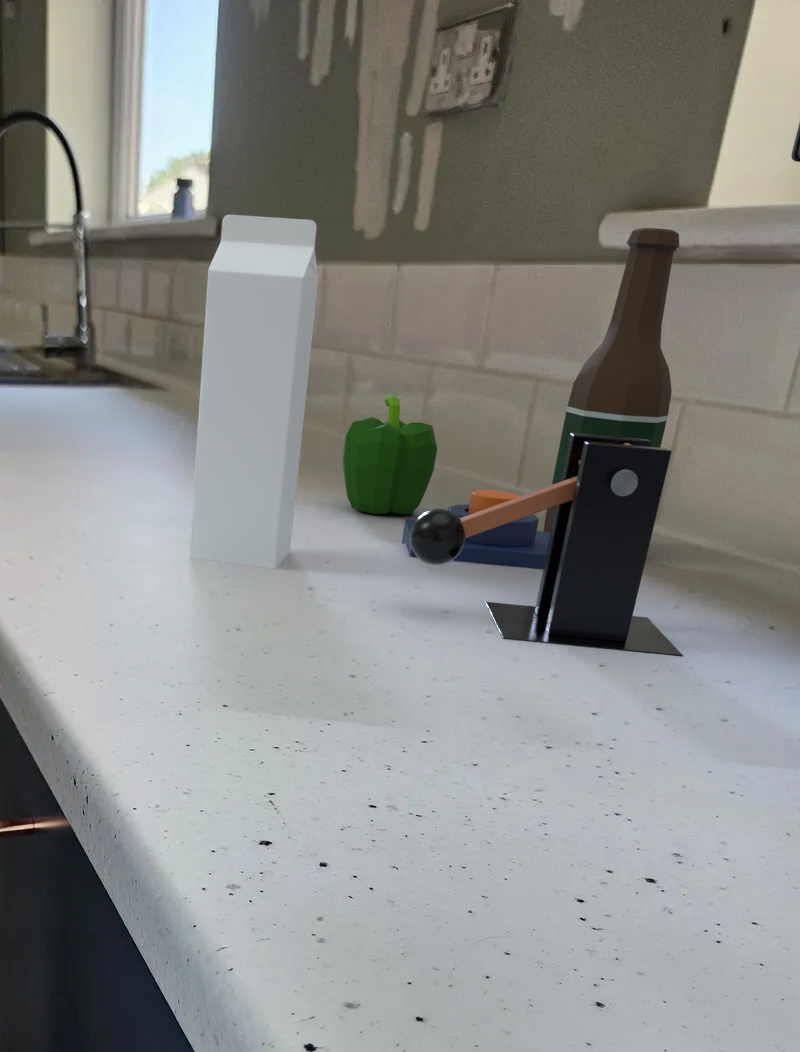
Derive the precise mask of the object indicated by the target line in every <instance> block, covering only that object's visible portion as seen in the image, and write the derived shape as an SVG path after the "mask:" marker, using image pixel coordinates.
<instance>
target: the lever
mask: <svg viewBox="0 0 800 1052" xmlns="http://www.w3.org/2000/svg"><path fill="white" fill-rule="evenodd" d="M622 445H631V444H629V443H625V444H622ZM580 461H581V460H579V466H580ZM576 481H577V476H576V477H573V478H570V479H568V480H565V481H562V482H559V483H556V484H554V485H552V484H550V485H548V486H546V487H543V488H540V489H537V490H534V491H531V492H529V493H526V494H523V495H519V496H520V497H518V498H515V499H512V500H509V501H507V502H504V503H501V504H498V505H495V506H493V507H490V508H487V509H484V510H482V511H479V512H476V513H473V514H470V515H468V516H465V517H462V518H459V517H458V516H457V515H456V514H455V513H453V512H451V511H449V510H448V509H445V508H434V509H433V508H432V509H429V510H427V511H425V512H423V513H421V514H420V516H418V517H417V519H415V520H416V521H415V523H414V524H413V526H412V529H411V532H410V544H411V548H412V550H413V552H414V553H415V555H416V556H417V557H418V558H417V557H416V558H417V559H418V560H420V561H422V562H423V563H425V564H428V565H431V566H442V565H446V564H449V563H451V562H453V561H452V560H454V559H455V558H456V557H457V556H458V555H459V554H460V553H461V551H462V549H463V547H464V545H465V541H466V538H467V537H470V536H473V535H476V534H478V533H481V532H484V531H487V530H490V529H492V528H495V527H498V526H501V525H504V524H507V523H509V522H512V521H515V520H518V519H521V518H523V517H526V516H529V515H532V514H534V515H536V514H537V513H541V512H543V511H547V509H549V508H551V507H554V506H557V505H560V504H563V503H566V502H568V501H571V500H573V495H574V491H575V486H576Z"/></svg>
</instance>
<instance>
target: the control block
mask: <svg viewBox="0 0 800 1052" xmlns="http://www.w3.org/2000/svg"><path fill="white" fill-rule="evenodd" d="M469 505H470V503H469V504H468V503H467V504H454V505H451V506H448V507H447V510H449V511H451V512H453V513H455V514H456V515H457V516H458V517H459V518H462V517H465V516H468V515H470V513H468V511H469ZM416 520H417V519H412V518H405V519H404V526H403V532H402V539H401V544H402V545H406V547H407V551H408V553H409V557H410V558H417V559H419V558H418V557H417V556H416V555H415V553H414V552H413V550H412V548H411V544H410V532H411V529H412V526H413V524H414V523H415V521H416ZM539 522H540V520H539V518H538V517H537V515H536V514H532V515H529V516H526V517H523V518H521V519H518V520H515V521H512V522H509V523H507V524H504V525H501V526H498V527H495V528H492V529H490V530H487V531H484V532H481V533H478V534H476V535H473V536H470V537H467V538H466V541H465V545H464V547H463V549H462V551H461V553H460V554H459V555H458V556H457V557H456V558H455V559H454V560H452V561H451V562H460V563H471V564H481V565H493V566H503V567H504V566H505V567H514V568H525V569H536V570H543V568H544V563H545V558H546V553H547V548H548V544H549V539H550V534H551V532H545V531H544V530H538V525H539Z"/></svg>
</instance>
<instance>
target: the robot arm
mask: <svg viewBox="0 0 800 1052" xmlns="http://www.w3.org/2000/svg"><path fill="white" fill-rule="evenodd" d="M790 156H791V159H792V161H794V162H795V163H796V162H797V163H800V122H799V124H798V127H797V130H796V135H795V139H794V143H793V146H792V151H791V155H790Z"/></svg>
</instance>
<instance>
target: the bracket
mask: <svg viewBox="0 0 800 1052" xmlns="http://www.w3.org/2000/svg"><path fill="white" fill-rule="evenodd" d="M625 443H629V444H631V445H622V444H625ZM651 446H652V441H650V440H648V439H639V438H627V437H615V436H604V435H592V434H580V433H571V434H570V439H569V444H568V449H567V454H566V459H565V464H564V469H563V474H562V479H561V482H562V481H565V480H568V479H570V478H573V477H576V476H577V481H576V486H575V491H574V495H573V500H571V501H568V502H566V503H563V504H560V505H557V506H556V509H555V514H554V519H553V524H552V529H551V534H550V539H549V544H548V548H547V553H546V558H545V563H544V568H543V569H542V573H541V578H540V583H539V584H540V585H539V589H538V594H537V599H536V604H535V605H534V606H533V605H524V604H523V605H522V604H514V603H513V604H512V603H502V602H493V601H485V606H486V609H488V612H489V615H490V616H491V618H492V620H493V622H494V624H495V626H496V629H497V631H498V633H499V635H500V637H501V639H502V640H509V641H519V642H529V643H530V642H531V643H541V644H550V645H560V646H570V647H571V646H572V647H581V648H589V649H591V648H592V649H600V650H609V651H610V650H611V651H623V652H631V653H632V652H633V653H640V654H641V653H642V654H650V655H662V656H673V657H680V658H681V657H684V654H682V653H681V652H680V650H678V648H677V647H676V646H675V645H674V644H673V643H672V642H671V641H670V640H669V639H668V637H666V636H665V634H664V633H662V631H661V630H660V629H659V628H658V627H657V626H656V625H655V624H654V622H652V620H650V619H649V618H648V617H647V616H637V615H634V611H635V607H636V603H637V599H638V594H639V590H640V586H641V582H642V578H643V574H644V569H645V565H646V561H647V557H648V552H649V549H650V544H651V541H652V536H653V532H654V527H655V523H656V518H657V514H658V510H659V506H660V502H661V498H662V495H663V489H664V485H665V483H666V482H665V481H666V478H667V474H668V470H669V469H668V468H669V464H670V461H671V457H672V452H673V451H672V450H671V449H669V448H667V447H660V448H657V447H651ZM579 460H581V461H580V466H579Z"/></svg>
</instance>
